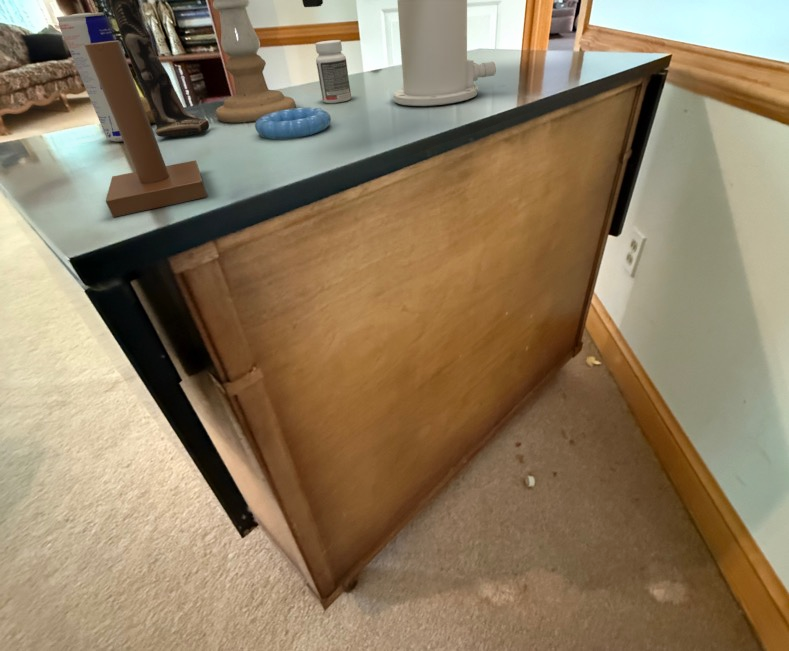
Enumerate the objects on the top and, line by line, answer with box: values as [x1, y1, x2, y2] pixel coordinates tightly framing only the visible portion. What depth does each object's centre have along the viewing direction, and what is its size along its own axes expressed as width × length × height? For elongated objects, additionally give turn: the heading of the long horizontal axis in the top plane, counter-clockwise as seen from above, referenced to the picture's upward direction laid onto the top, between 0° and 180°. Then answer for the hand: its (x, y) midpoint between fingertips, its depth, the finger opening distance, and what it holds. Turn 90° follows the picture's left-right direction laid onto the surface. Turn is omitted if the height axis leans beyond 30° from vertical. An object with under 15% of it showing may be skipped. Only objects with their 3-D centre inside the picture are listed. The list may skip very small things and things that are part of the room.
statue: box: [108, 0, 210, 138], centre depth 59 cm, size 4×7×20 cm, turn 95°
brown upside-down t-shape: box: [84, 40, 208, 218], centre depth 41 cm, size 8×8×12 cm
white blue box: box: [56, 12, 124, 143], centre depth 63 cm, size 6×6×15 cm
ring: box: [254, 107, 332, 140], centre depth 61 cm, size 10×10×2 cm
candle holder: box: [212, 0, 297, 124], centre depth 68 cm, size 12×12×20 cm
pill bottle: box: [314, 39, 352, 104], centre depth 74 cm, size 5×5×8 cm
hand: (356, 0), depth 47 cm, fingers open, 9 cm apart
